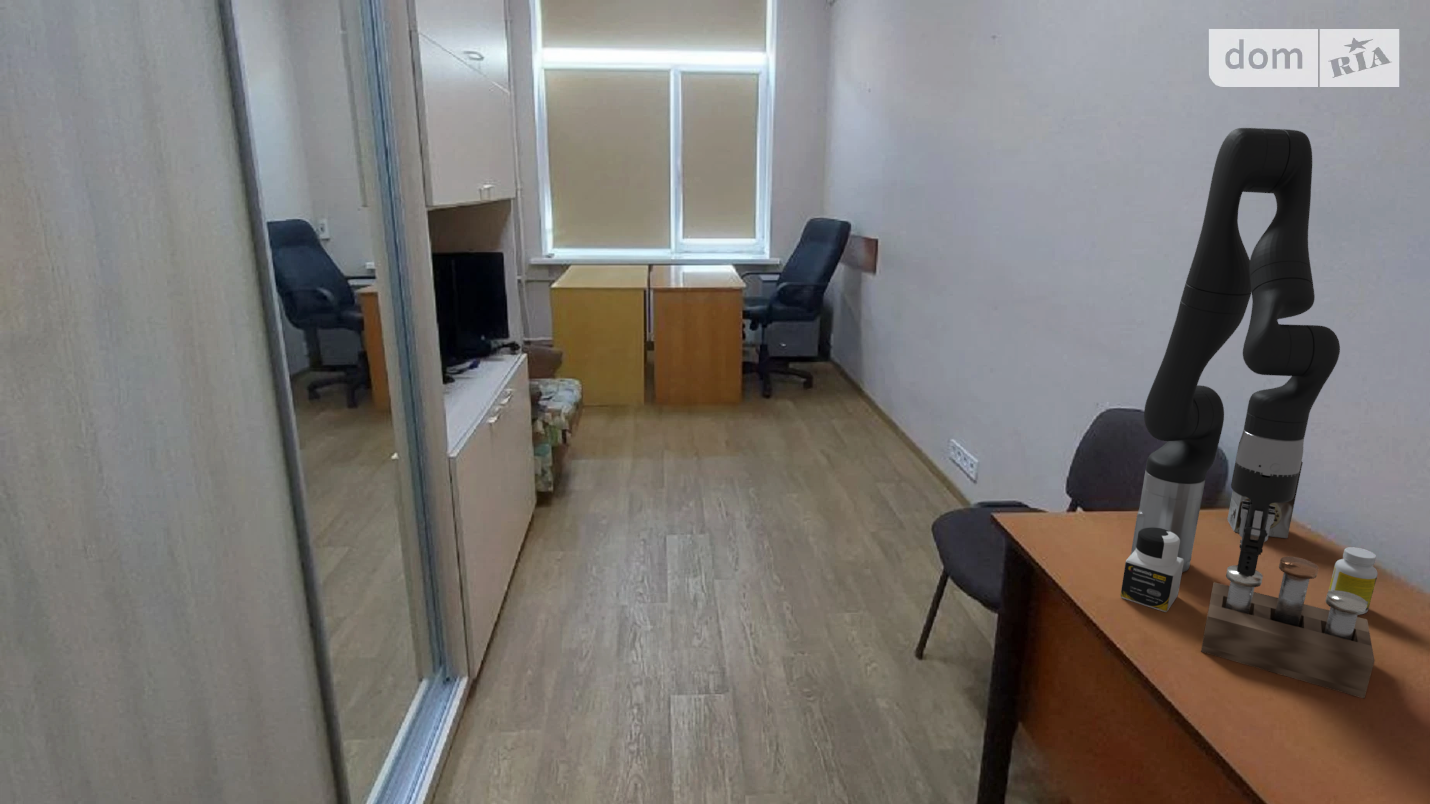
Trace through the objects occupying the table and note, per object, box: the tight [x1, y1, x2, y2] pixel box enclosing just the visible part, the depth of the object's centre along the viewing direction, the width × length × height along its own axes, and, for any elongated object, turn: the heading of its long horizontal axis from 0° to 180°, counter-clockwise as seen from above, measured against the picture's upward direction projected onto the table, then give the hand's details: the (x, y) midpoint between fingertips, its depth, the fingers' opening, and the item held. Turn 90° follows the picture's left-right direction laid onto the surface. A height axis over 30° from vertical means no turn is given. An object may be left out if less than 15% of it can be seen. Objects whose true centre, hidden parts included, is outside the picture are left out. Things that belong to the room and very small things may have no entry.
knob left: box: [1225, 564, 1264, 614], centre depth 116 cm, size 4×4×10 cm
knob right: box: [1324, 590, 1367, 640], centre depth 109 cm, size 4×4×10 cm
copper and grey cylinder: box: [1273, 556, 1319, 627], centre depth 112 cm, size 4×4×10 cm
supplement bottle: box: [1327, 546, 1379, 614], centre depth 125 cm, size 5×5×10 cm
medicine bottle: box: [1119, 527, 1184, 613], centre depth 128 cm, size 7×7×12 cm
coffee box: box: [1226, 461, 1304, 539], centre depth 152 cm, size 9×6×16 cm
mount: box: [1200, 581, 1375, 699], centre depth 114 cm, size 19×12×6 cm, turn 55°
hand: (1245, 572), depth 115 cm, fingers closed
